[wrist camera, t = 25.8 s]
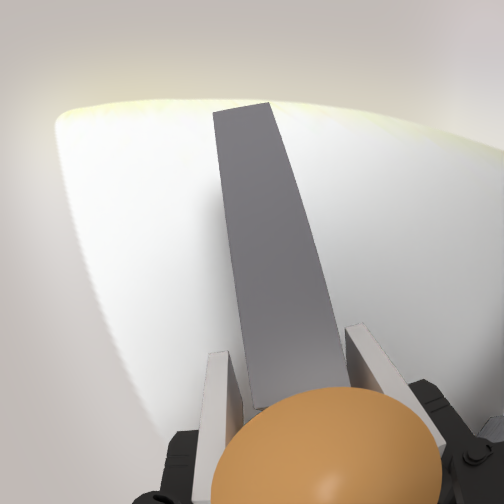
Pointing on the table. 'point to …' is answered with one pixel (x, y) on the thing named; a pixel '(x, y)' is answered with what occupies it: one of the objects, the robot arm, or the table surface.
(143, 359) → the table surface
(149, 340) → the table surface
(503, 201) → the table surface
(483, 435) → the arch
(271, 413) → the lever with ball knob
